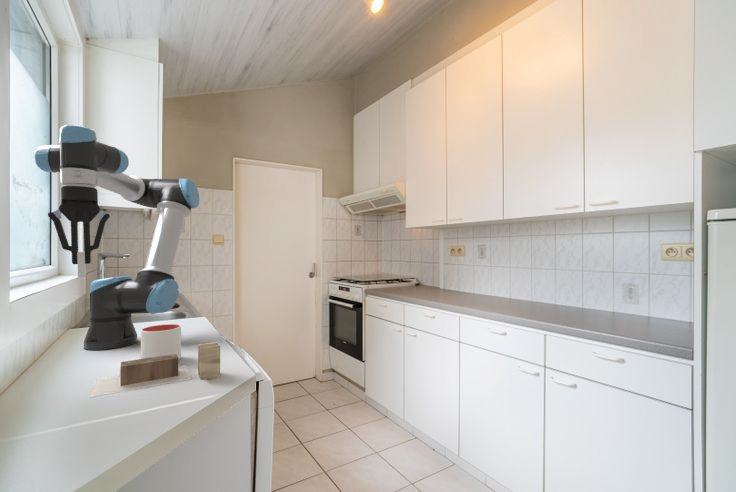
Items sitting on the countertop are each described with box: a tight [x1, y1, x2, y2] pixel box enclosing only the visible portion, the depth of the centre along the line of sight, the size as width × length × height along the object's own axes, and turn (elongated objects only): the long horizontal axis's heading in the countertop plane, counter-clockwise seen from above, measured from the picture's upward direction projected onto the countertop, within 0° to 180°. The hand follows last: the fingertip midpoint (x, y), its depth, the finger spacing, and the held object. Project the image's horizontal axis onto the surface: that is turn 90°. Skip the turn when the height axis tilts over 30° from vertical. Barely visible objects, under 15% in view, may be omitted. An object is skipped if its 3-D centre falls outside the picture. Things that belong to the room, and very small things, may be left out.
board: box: [89, 364, 193, 398], centre depth 89 cm, size 13×20×1 cm, turn 122°
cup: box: [140, 323, 182, 361], centre depth 104 cm, size 10×10×10 cm
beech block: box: [197, 341, 221, 381], centre depth 92 cm, size 4×4×8 cm
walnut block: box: [119, 354, 179, 386], centre depth 90 cm, size 4×4×12 cm
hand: (82, 276), depth 95 cm, fingers closed
